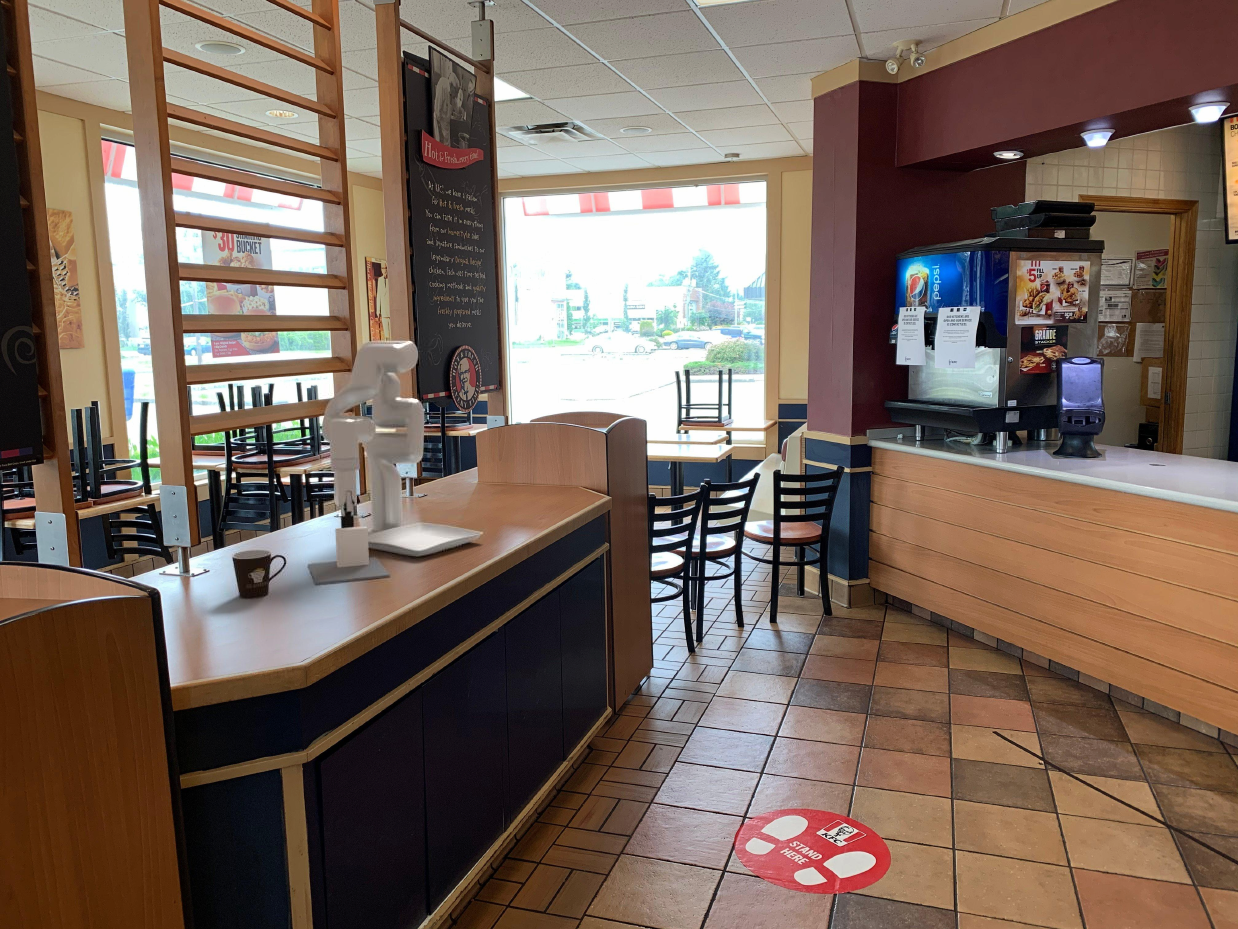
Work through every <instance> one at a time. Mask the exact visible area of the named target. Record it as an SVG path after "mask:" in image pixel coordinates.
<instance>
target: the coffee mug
mask: <svg viewBox="0 0 1238 929" xmlns="http://www.w3.org/2000/svg"><path fill="white" fill-rule="evenodd" d="M231 558H232V563H233V568H234V573H235V574H234V575H235V579H236V584H237V590H238V594H239V595H238V596H239V598H241V599H245V600H248V599H250V600H252V599H259V598H263V597H266V596H268V595H269V591H270V590H269V589H270V582H271V581H272V580H273V579H274V578H276V577H277V576H279V574H280V573H282V571H283V570H284V569H285V567H286V564H287V559H286V557H285V556H284V555H281V554H276V555H275V554H274V556H272V552H271V551H270V550H267V549H249V550H243V551H238V552H235V553H233V554H232V555H231ZM277 558H280V559H283V564H282V566H281V568H280V569H279V570H277V572H274V574H273V575H271V564H272V562H273V560H275V559H277ZM270 575H271V576H270Z"/></svg>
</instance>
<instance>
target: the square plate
mask: <svg viewBox="0 0 1238 929" xmlns="http://www.w3.org/2000/svg"><path fill="white" fill-rule="evenodd" d="M483 534H484V532H483V531H477V530H473V529H468V528H463V527H457V526H453V525H452V526H451V525H445V524H437V523H427V522H417V523H412V524H408V525H403V526H402V527H397V528H392V529H388V530H384V531H381V532H377V533H373V534H370V535H369V534H368V549H373V550H378V551H383V552H387V553H393V554H399V555H404V556H410V557H422V556H423V557H424V556H429V555H432V554H436V553H440V552H443V551H446V550H450V549H453V548H457V547H460V546H463V545H466V544H467V543H470V542H473V541H475V540H477V539H478V538H480V536H481V535H483ZM462 544H463V545H462ZM459 545H460V546H459ZM456 546H457V547H456ZM449 548H450V549H449ZM445 549H446V550H445ZM442 550H443V551H442Z"/></svg>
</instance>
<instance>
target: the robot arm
mask: <svg viewBox="0 0 1238 929" xmlns="http://www.w3.org/2000/svg"><path fill="white" fill-rule="evenodd" d="M418 351H419V350H418V347H417V346H416V343H414V342H413V341H411V340H372V341H366V342H364V343H363V344H362V345H361V346H360V347H359V349H358V350H357V352H356V356H355V360H354V364H353V366H352V371H351V375H350V380H349V383H348V384H347V385H346V386H344V387H343V388H342V389H341V390H339V391H338V392H337V393H336V394H335V395H334V396H333V397H332V398H331V399H330V400H329V401H328V403H327V406H326V408H325V411H324V414H323V417H322V418H323V419H322V424H321V435H322V437H323V439H324V440H325V441H326V442H329V454H330V458H329V459H330V471H332V472H334V473H333V478H334V479H333V492H334V493H333V497H334V498H333V502H334V504H335V505H336V506H337V507H338V508H340V514H341V515H340V528H351V527H355V519H354V518H355V516H354V507H356V506H357V498H358V497H357V495H358V494H357V474H356V472H357V471H359V470H360V468H361V466H360V465H361V464H360V463H361V462H360V446H359V445H360V444H365V445H364V446H365V454H366V457H367V459H366V460H367V463H368V470H369V488H370V489H369V490H370V511H371V513H370V514H371V515H370V516H371V517H370V518H371V527H369V528H368V527H367V528H368V535H370V534H373V533H377V532H381V531H384V530H388V529H392V528H397V527H402V526H404V525H403V524H404V520H403V518H404V517H403V493H402V492H403V488H402V474H400V471H399V470H398V468H397V467H396V466H395V464H417V463H419V462H420V461H421V460H422V459H423V454H424V444H425V443H424V440H425V439H424V438H425V432H424V431H425V412H424V406H423V403H422V402H421V401H420V400H418V399H417V398H416V399H415V398H402V397H401V391H402V390H401V388H402V386H401V381H400V379H399V378H398V376H397V375H396V374H401V373H405V372H408V371H410V370H412V369H413V368H414V367H416V364H417V363H418V360H419V352H418ZM370 400H372V403H371V404H372V406H371V418H370V417H368V416H363V415H343V414H344V413H345V412H346V411H347V410H349V409H351V408H354V407H356V406H359V405H360V404H364V403H366V402H369V401H370ZM376 428H380V429H390V430H392V429H394V430H400V429H401V430H407V432H377V429H376Z"/></svg>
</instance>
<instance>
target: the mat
mask: <svg viewBox="0 0 1238 929" xmlns="http://www.w3.org/2000/svg"><path fill="white" fill-rule="evenodd" d="M307 566H308V569H309V572H310V574H311V575H312V578H313V580H314V582H315V585H316V586H317V585H318V586H320V585H328V584H335V583H336V584H337V583H345V582H346V583H347V582H355V581H364V580H372V579H382V578H390V573H389V572H388V571H387V569H386V568H385V566H384V565H383V564H382V562H380V560H379V558H377V556H373V557H372V556H371V557H369V564H368V565H358V566H348V567H338V566H337V560H332V561H324V562H315V563H314V562H313V563H307Z"/></svg>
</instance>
